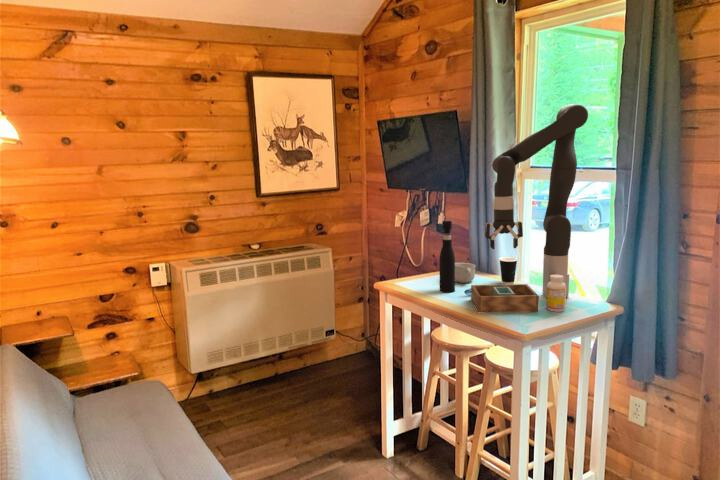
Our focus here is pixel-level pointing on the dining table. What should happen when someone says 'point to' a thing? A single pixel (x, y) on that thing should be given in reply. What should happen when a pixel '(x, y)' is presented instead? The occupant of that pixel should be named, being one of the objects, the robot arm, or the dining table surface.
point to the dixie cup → (508, 269)
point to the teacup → (464, 272)
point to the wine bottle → (447, 261)
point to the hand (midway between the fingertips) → (503, 248)
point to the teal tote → (502, 291)
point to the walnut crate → (504, 299)
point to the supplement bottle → (556, 294)
